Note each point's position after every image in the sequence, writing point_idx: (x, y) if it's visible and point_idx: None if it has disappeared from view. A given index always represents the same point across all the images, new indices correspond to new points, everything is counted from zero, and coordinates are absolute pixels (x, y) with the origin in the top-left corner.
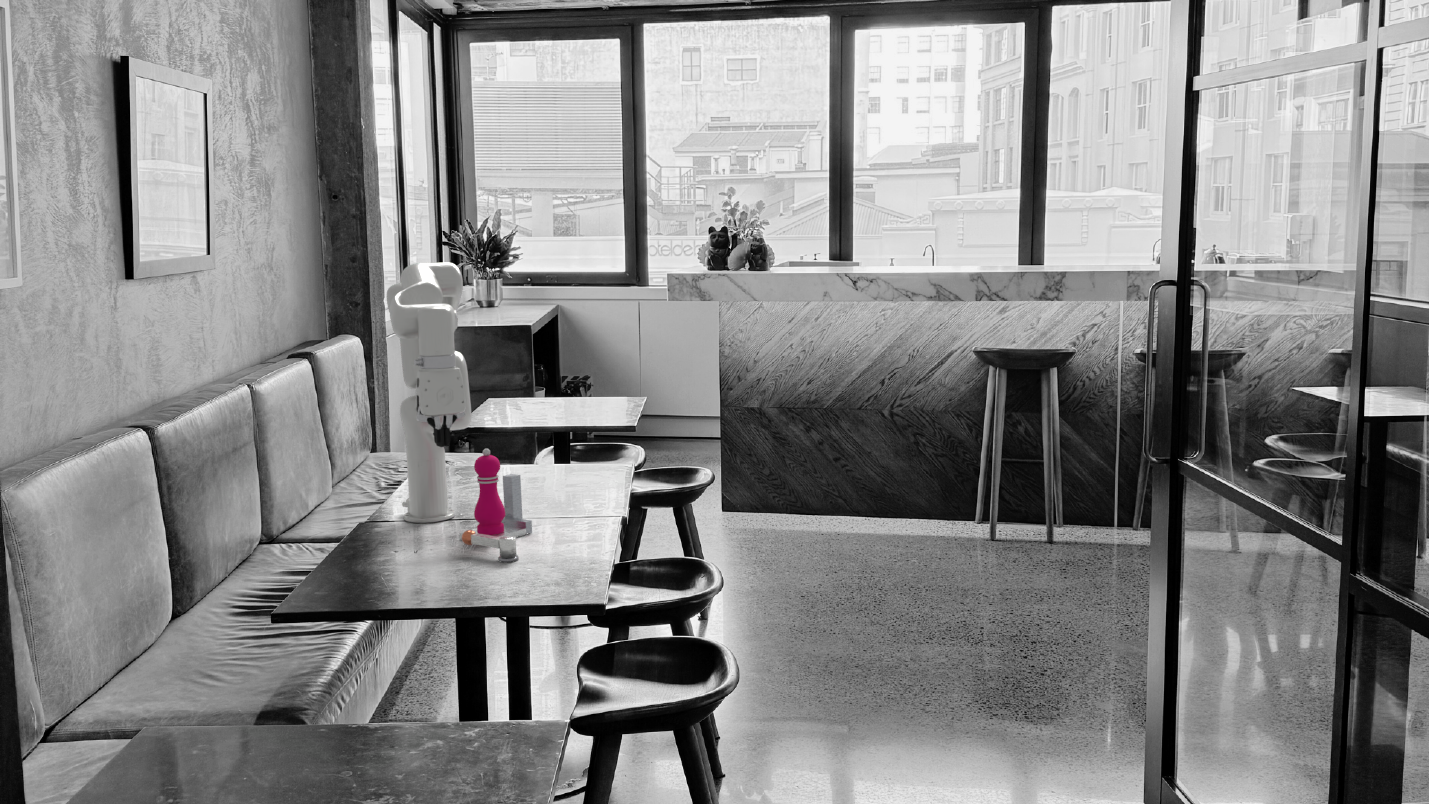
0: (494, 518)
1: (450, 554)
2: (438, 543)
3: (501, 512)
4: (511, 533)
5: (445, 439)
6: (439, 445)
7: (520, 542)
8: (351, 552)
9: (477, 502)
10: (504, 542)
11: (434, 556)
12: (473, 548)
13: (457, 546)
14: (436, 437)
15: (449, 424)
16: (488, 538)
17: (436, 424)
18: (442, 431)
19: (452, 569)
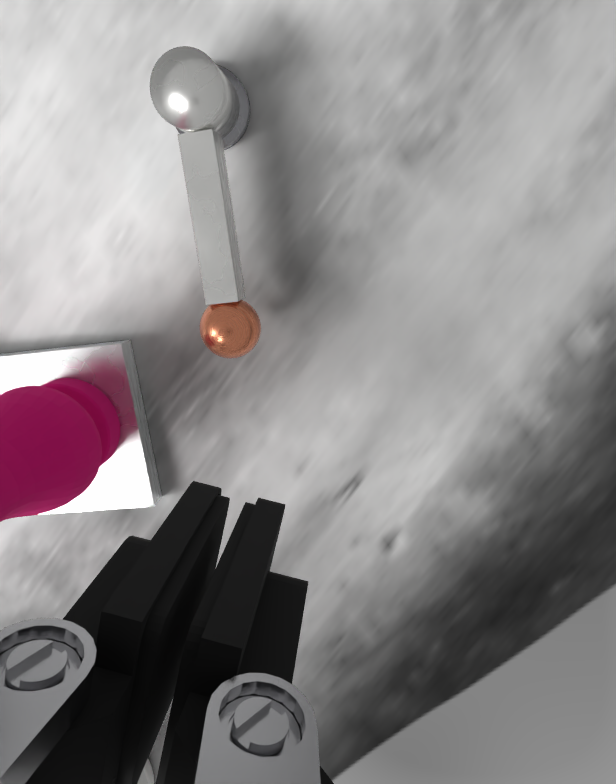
0: (53, 390)
1: (300, 360)
2: (240, 510)
3: (8, 393)
4: (30, 353)
5: (208, 539)
6: (270, 566)
7: (44, 286)
8: (481, 644)
9: (52, 492)
10: (218, 69)
11: (350, 384)
12: (201, 359)
13: (221, 427)
14: (298, 630)
15: (17, 679)
16: (222, 192)
17: (293, 773)
18: (222, 614)
19: (423, 178)
